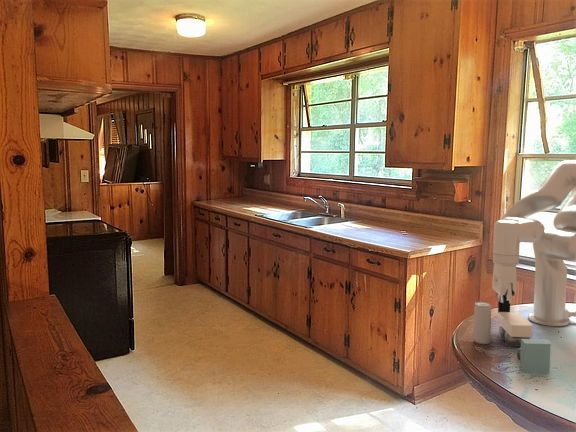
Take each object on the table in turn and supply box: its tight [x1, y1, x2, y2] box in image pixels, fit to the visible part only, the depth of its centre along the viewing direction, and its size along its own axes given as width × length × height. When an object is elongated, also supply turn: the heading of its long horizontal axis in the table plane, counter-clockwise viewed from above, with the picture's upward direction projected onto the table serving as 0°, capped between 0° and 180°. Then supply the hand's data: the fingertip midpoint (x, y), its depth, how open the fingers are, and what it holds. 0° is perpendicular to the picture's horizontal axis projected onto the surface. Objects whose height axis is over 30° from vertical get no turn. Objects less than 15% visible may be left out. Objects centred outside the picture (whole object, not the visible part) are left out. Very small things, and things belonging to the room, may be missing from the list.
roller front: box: [504, 332, 531, 347], centre depth 145 cm, size 6×4×4 cm, turn 83°
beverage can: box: [473, 301, 492, 345], centre depth 148 cm, size 5×5×12 cm
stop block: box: [519, 338, 552, 374], centre depth 128 cm, size 6×3×8 cm, turn 83°
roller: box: [516, 347, 521, 362], centre depth 134 cm, size 6×4×4 cm
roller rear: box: [498, 325, 506, 340], centre depth 150 cm, size 6×4×4 cm, turn 83°
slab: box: [497, 311, 534, 338], centre depth 147 cm, size 6×12×4 cm, turn 173°
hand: (503, 313), depth 157 cm, fingers closed
